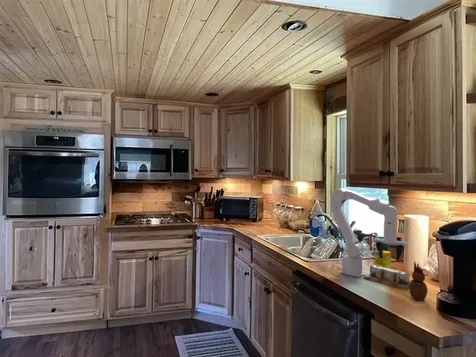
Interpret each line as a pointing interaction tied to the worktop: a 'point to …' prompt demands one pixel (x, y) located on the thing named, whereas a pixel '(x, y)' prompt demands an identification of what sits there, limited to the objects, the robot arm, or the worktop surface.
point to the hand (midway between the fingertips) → (389, 259)
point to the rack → (384, 281)
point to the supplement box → (383, 259)
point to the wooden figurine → (418, 284)
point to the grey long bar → (397, 277)
